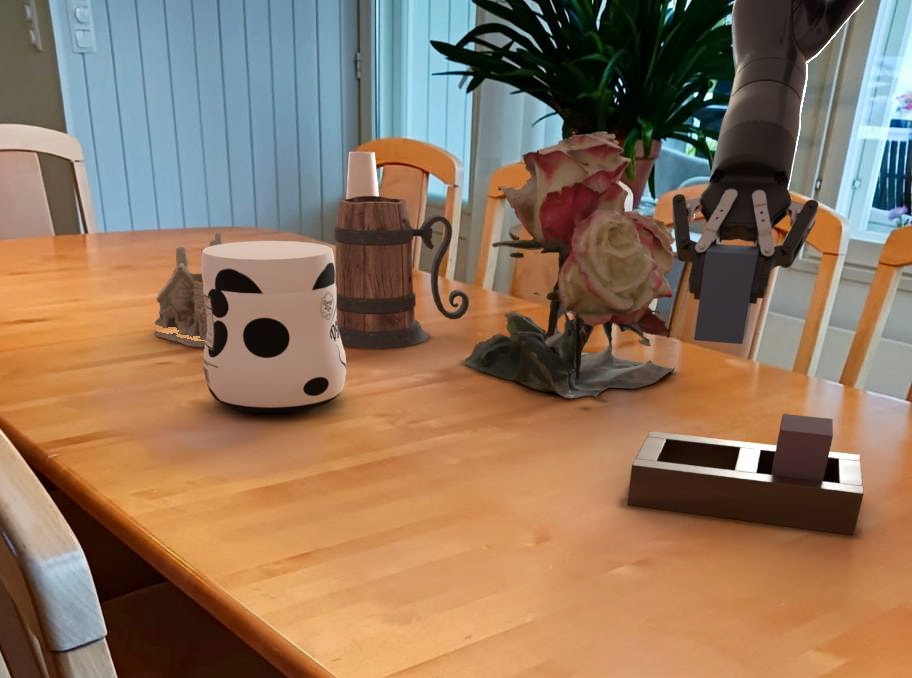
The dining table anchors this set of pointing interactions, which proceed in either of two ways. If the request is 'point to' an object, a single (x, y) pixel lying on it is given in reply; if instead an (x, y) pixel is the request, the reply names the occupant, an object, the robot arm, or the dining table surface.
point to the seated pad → (803, 447)
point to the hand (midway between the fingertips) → (725, 295)
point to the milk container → (272, 326)
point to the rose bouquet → (583, 272)
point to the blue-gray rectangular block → (726, 293)
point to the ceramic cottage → (184, 302)
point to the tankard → (383, 273)
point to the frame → (743, 484)
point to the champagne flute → (362, 175)
